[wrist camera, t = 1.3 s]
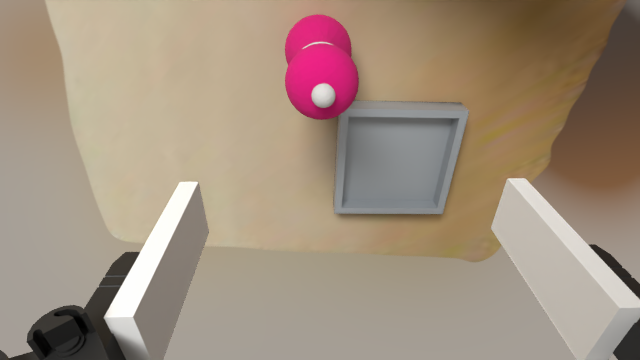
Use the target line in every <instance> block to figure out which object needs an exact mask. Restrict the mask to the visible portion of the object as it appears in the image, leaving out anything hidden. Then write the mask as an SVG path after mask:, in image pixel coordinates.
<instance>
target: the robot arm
mask: <svg viewBox="0 0 640 360" xmlns="http://www.w3.org/2000/svg"><path fill="white" fill-rule="evenodd" d="M491 229H492V231H493V232H494V234H495V235H496V237H497V238H498V240H499V242H500V243H501V245H502V246H503V248H504V249H505V251H506V252H507V254H508V255H509V257H510V258H511V260H512V261H513V263H514V264H515V266H516V268H517V269H518V270H519V272H520V274H521V275H522V277H523V278H524V280H525V281H526V283H527V284H528V286H529V288H530V289H531V290H532V292H533V294H534V295H535V296H536V298H537V300H538V301H539V303H540V304H541V306H542V307H543V309H544V311H545V312H546V314H547V315H548V317H549V318H550V320H551V321H552V323H553V324H554V326H555V327H556V329H557V331H558V332H559V334H560V335H561V336H562V338H563V340H564V341H565V343H566V344H567V346H568V347H569V349H570V351H571V352H572V354H573V355H574V357H575V358H576V360H609V358H610V357H611V356H612V354H614V355H615V356H616V358H617V359H618V360H640V284H639V283H638V282H637V281H636V280H635V279H634V278H632V277H631V275H630V274H629V273H628V272H627V271H626V270H625V269H624V268H622V266H621V265H620V264H619V263H618V262H617V261H616V260H615V258H614V257H612V256H611V254H609V253H607V252H606V251H604V250H603V249H601V248H600V247H598V246H597V245H588V244H587V243H586V242H585V241H584V240H583V239H582V238H581V237H580V236H579V235H578V234H577V233H576V232H575V231H574V230H573V229H572V228H571V226H570V225H569V224H568V223H567V222H566V221H565V220H564V219H563V218H562V217H561V216H560V215H559V214H558V213H557V212H556V211H555V210H554V208H553V207H552V206H551V205H550V204H549V203H548V202H547V201H546V200H545V199H544V198H543V197H542V196H541V195H540V194H539V193H538V192H537V190H536V189H535V188H534V187H533V186H532V185H531V184H530V183H529V182H528V181H527V180H526V179H525V178H509V179H507V181H506V184H505V187H504V190H503V193H502V196H501V199H500V202H499V205H498V208H497V211H496V214H495V217H494V220H493V224H492V227H491ZM208 234H209V229H208V225H207V220H206V215H205V211H204V206H203V201H202V196H201V192H200V187H199V182H180V183H179V185H178V186H177V188H176V190H175V192H174V194H173V195H172V197H171V199H170V201H169V202H168V204H167V206H166V208H165V210H164V211H163V213H162V215H161V217H160V218H159V220H158V222H157V224H156V225H155V227H154V229H153V231H152V233H151V234H150V236H149V238H148V240H147V241H146V243H145V245H144V247H143V249H142V250H141V252H125V253H124V254H123V255H122V256H121V257H120V258H119V259H117V260H116V261H115V262H114V263H113V264H112V265H111V267H110V269H109V270H108V272H107V273H106V275H105V278H103V280H102V281H101V283H100V285H99V288H97V289H96V291H95V292H94V294H93V296H92V297H91V299H90V300H89V302H88V304H87V305H86V307H85V308H84V309H83V308H82V307H79V306H75V305H70V306H63V307H60V308H57V309H54V310H52V311H50V312H49V313H47V314H45V315H44V316H42V317H41V318H40V319H39V320H38V321H37V322H36V323H35V324H33V326H32V327H31V330H30V331H29V333H28V336H27V343H28V344H29V346H30V347H31V348H32V350H33V352H30V353H26V354H23V355H19V356H15V357H12V358H8V357H7V355H6V354H5V353H3V352H2V351H1V350H0V360H163V359H164V356H165V353H166V350H167V348H168V345H169V342H170V339H171V337H172V334H173V331H174V328H175V325H176V322H177V320H178V317H179V314H180V312H181V309H182V306H183V303H184V300H185V298H186V295H187V292H188V289H189V286H190V284H191V281H192V278H193V275H194V273H195V270H196V267H197V264H198V261H199V259H200V256H201V253H202V250H203V248H204V245H205V242H206V239H207V236H208Z"/></svg>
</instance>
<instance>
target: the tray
mask: <svg viewBox="0 0 640 360" xmlns="http://www.w3.org/2000/svg"><path fill="white" fill-rule="evenodd" d="M468 114H469V110H468V109H467V108H466V107H465V106H464V105H463V104H462V103H454V102H400V101H353V102H352V104H351V105H350V107H349V108H348V109H347V110H346V111H344V112H343V113H341V114H340V115H338V128H337V145H336V162H335V179H334V195H333V205H334V213H356V214H443V210H444V206H445V203H446V199H447V195H448V191H449V187H450V183H451V179H452V176H453V172H454V168H455V164H456V160H457V156H458V152H459V149H460V145H461V141H462V137H463V133H464V129H465V125H466V122H467V118H468Z"/></svg>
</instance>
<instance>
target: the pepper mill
mask: <svg viewBox="0 0 640 360" xmlns="http://www.w3.org/2000/svg"><path fill="white" fill-rule="evenodd" d="M285 55H286V60H287V63H288V69H287V72H286V76H285V86H286V91H287V94H288V97H289V99H290V101H291V103H292V104H293V105H294V107H295V108H296V109H297V110H298V111H299V112H300V113H302V114H304V115H305V116H307V117H310V118H313V119H320V120H322V119H330V118H334V117H336V116H338V115H340V114H341V113H343V112H344V111H346V110H347V109H348V108H349V107H350V105H351V104H352V102H353V101H354V99H355V97H356V94H357V91H358V83H359V78H358V72H357V68H356V66H355V64H354V62H353V60H352V59H351V42H350V38H349V35H348V33H347V31H346V30H345V28H344V27H343V26H342V25H341V24H340V23H339V22H338V21H336V20H335V19H333V18H331V17H329V16H325V15H311V16H308V17H305V18H303V19H302V20H300V21H299V22H298V23H296V24H295V25H294V27H293V28H292V29H291V30H290V32H289V34H288V37H287V39H286V44H285Z"/></svg>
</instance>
